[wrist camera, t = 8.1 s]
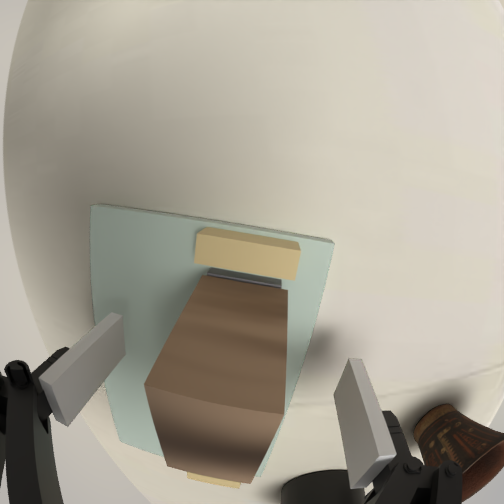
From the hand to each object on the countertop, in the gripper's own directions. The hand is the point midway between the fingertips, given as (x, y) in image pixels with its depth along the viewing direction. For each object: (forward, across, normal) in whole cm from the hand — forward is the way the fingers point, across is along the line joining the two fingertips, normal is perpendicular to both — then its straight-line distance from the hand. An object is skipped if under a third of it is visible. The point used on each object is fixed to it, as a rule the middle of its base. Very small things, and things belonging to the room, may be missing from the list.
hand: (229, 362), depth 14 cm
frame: (+2, 0, 0) cm, 2 cm away
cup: (+4, +20, -7) cm, 22 cm away
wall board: (+4, -3, -6) cm, 7 cm away
